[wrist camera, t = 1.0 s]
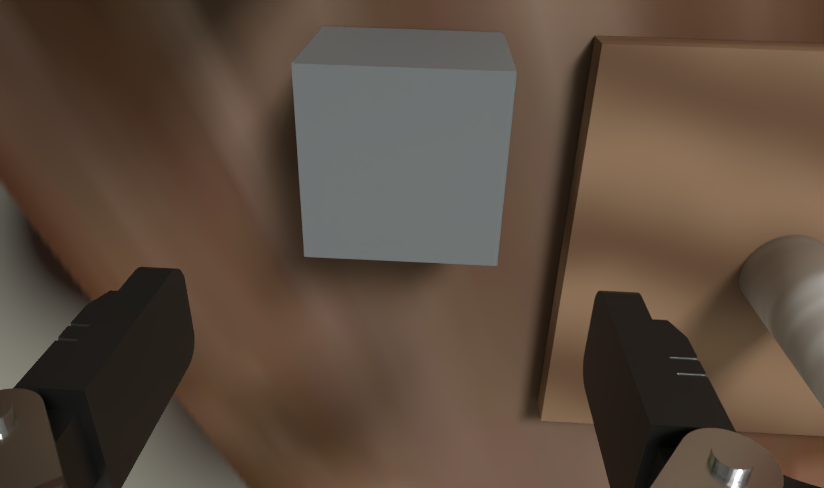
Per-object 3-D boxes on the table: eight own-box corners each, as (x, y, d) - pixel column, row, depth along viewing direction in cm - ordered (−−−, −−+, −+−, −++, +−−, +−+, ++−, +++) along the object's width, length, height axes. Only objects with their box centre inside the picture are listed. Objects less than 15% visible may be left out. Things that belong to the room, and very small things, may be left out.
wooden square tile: (594, 35, 21) (658, 106, 15) (1097, 52, 21) (1396, 134, 14) (537, 401, 29) (563, 554, 23) (901, 421, 29) (1036, 582, 22)
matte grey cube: (323, 25, 22) (291, 63, 17) (503, 32, 22) (516, 71, 17) (329, 190, 25) (304, 256, 20) (488, 196, 24) (497, 265, 20)
